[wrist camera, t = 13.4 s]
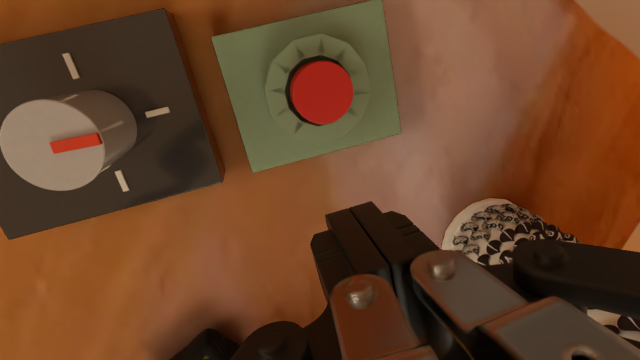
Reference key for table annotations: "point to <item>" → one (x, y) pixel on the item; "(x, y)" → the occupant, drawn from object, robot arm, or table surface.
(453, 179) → the table surface
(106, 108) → the stove knob
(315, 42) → the block
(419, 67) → the table surface
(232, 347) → the tape measure
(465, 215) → the decorative candle
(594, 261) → the robot arm
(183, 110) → the hob panel
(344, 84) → the power button
